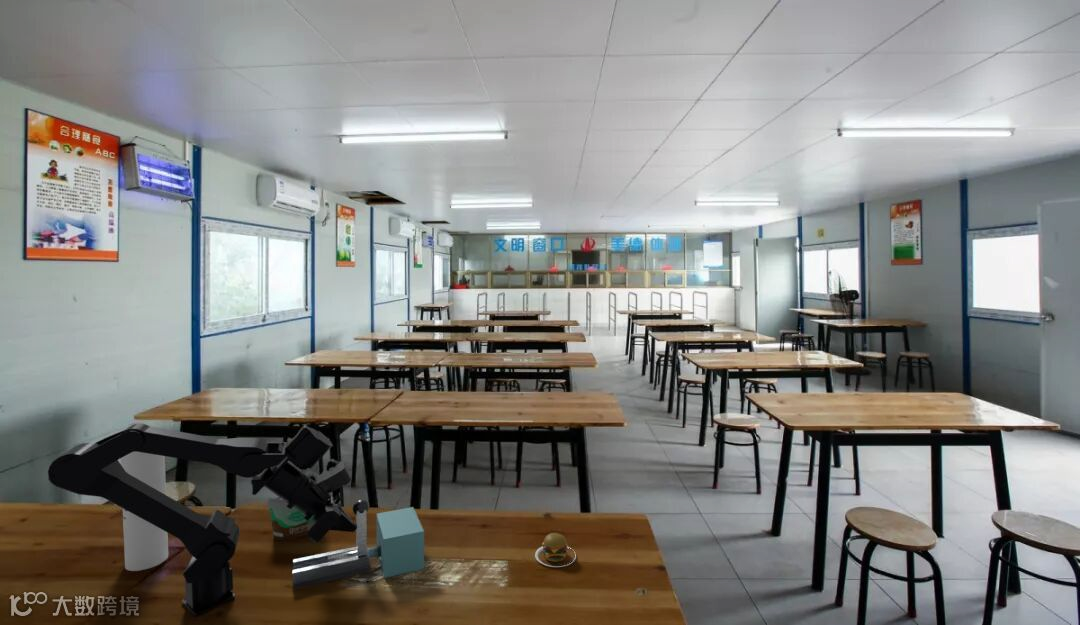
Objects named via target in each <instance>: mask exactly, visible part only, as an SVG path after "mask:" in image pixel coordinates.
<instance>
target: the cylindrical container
mask: <svg viewBox="0 0 1080 625" xmlns="http://www.w3.org/2000/svg"><path fill="white" fill-rule="evenodd" d="M165 458H166V456H161V455H155V454H148V453H142V452H132V453H130V454H128V455H126V456H124V457H122V458H120V459H119V460H120V464H121V466H122V467H123V468H124V470H125V471H126V472H127V473H128V474H130V475H131V476H133V477H135V478H137V479H139V480H140V481H142V482H144V483H146V484H147V485H149V486H151V487H153V488H154V489H156V490H158V491H160V492H161V493H163V494H165V495H167V486H166V461H165V460H166V459H165ZM122 523H123V525H122V527H123V528H122V530H123V546H124V547H123V548H124V549H123V550H124V569H125V570H127V571H131V572H139V571H143V570H148V569H151V568H154V567H156V566H159V565H160V564H162V563H164V562H165V561H166V560H167V559H168V558H169V541H168V540H169V538H168V536H169V535H168V534H169V533H167V532H166V531H164V530H162V529H160V528H158V527H156V526H155V525H153V524H151V523H149V522H147V521H145V520H143V519H142V518H140V517H138V516H136V515H134V514H132V513H131V512H129V511H127V510H125V509H123V508H122Z"/></svg>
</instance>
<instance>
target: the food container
mask: <svg viewBox="0 0 1080 625" xmlns="http://www.w3.org/2000/svg"><path fill="white" fill-rule="evenodd" d="M286 505H287V502H286V501H284V500H283V499H282V498H280V497H279V496H278V497H277V498H272V497H269V496H268V499H267V501H266V505H265V506H266V508H268V509H269V512H270V513H269V514H270V521H271V527H272V533H273V538H274V539H275V538H276V540H279V539H282V540H281V541H285V540H284V539H293V540H296V539H295V538H298V539H300V538H299V537H301V538H303V537H302V536H304V537H306V536H308V535H307V534H308V523H309V522H310V521H311V519H312V518H313V517H314V516H312V517H311V518H310V519H309V520H308V521H307V520H306V519H304V514H303V513H302V512H301V511H299V510H298V509H296V508H295V507H292V508H291V509H290V508H288V507H287V506H286ZM305 535H306V536H305Z"/></svg>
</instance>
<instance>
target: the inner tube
mask: <svg viewBox="0 0 1080 625" xmlns="http://www.w3.org/2000/svg"><path fill="white" fill-rule="evenodd" d="M369 510H370V504H369V502H368V501H367V500H366V499H358V500H357V501H355V502H354V503H353V505H352V511H353V512H352V513H353V514H354V515H355V525H356V526H357V529H356V530H355V535H356V536H355V539H356V540H355V542H356V543H355V544H356V545H355V547H356V548H357V550H356V551H351V552H346V553H341V554H336V555H332V556H327V561H328V562H333V561H337V560H342V559H347V558H351V557H356V556H361V555H365V554H369V560H371V559H377V558H379V557H381V545H380V546H377V545H376V546H371V547H368V546H367V545H368V544H367V542H368V539H367V538H368V536H367V529H368V528H367V513H369Z"/></svg>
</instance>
